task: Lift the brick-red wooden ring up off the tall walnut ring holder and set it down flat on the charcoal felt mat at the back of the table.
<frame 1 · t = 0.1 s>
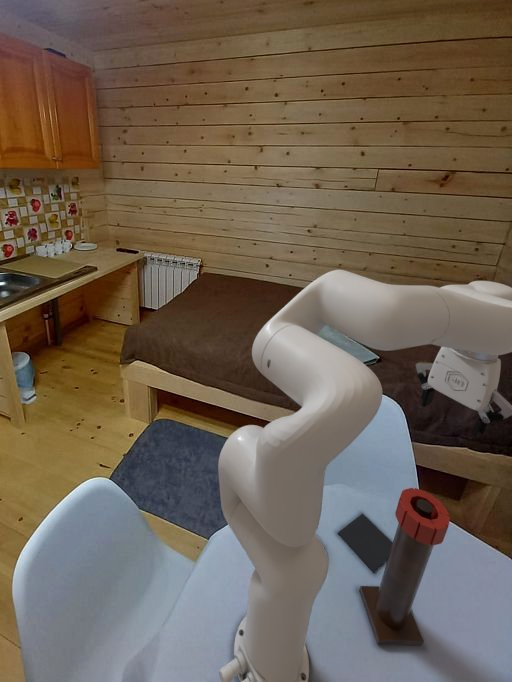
hand: (450, 418, 70), 31 cm above the table, tool pointing down, fingers open, 9 cm apart
vase: (293, 535, 78), on the table
ring: (419, 523, 56), point 25 cm above the table, touching ring holder
felt mat: (367, 541, 77), on the table
ring holder: (388, 616, 64), on the table
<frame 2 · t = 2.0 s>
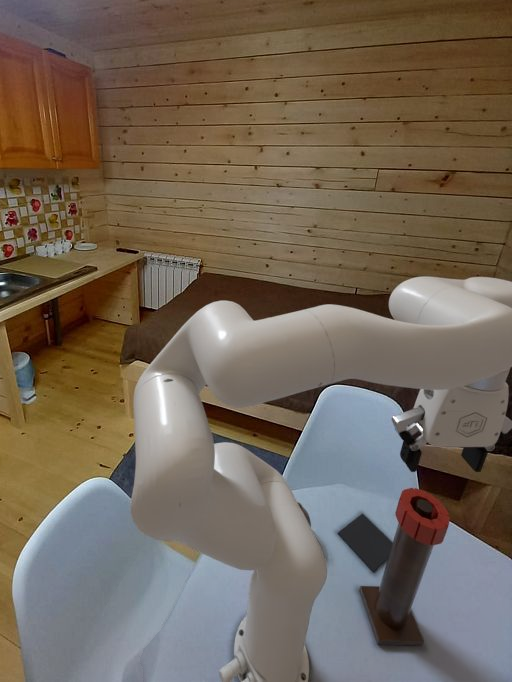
hand: (438, 464, 52), 38 cm above the table, tool pointing down, fingers open, 9 cm apart
nothing on the table moved.
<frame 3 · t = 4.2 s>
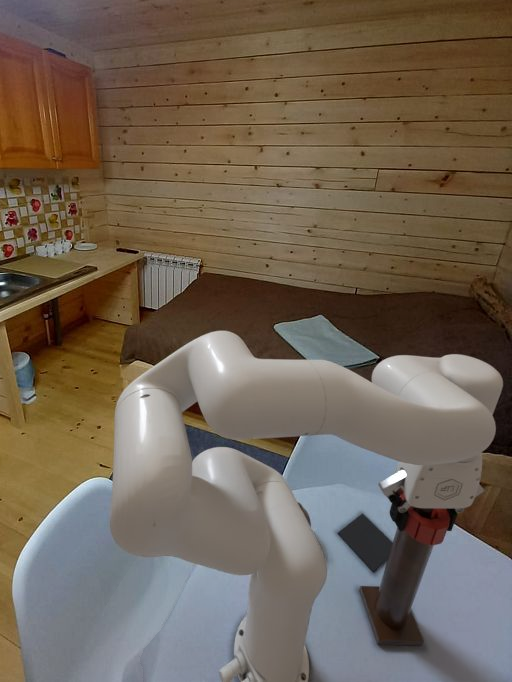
hand: (419, 521, 56), 25 cm above the table, tool pointing down, fingers closed on ring, 7 cm apart
ring: (419, 523, 56), point 25 cm above the table, touching gripper, ring holder
everything else where it was.
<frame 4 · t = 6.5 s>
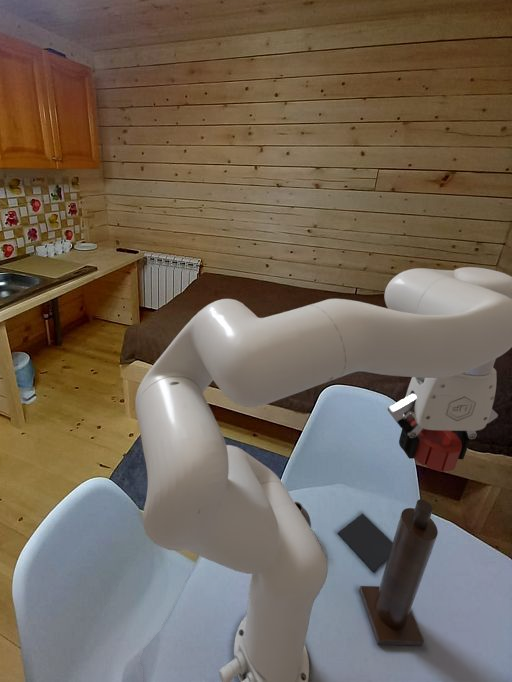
hand: (430, 451, 54), 38 cm above the table, tool pointing down, fingers closed on ring, 7 cm apart
ring: (429, 452, 54), point 37 cm above the table, touching gripper
everything else where it was.
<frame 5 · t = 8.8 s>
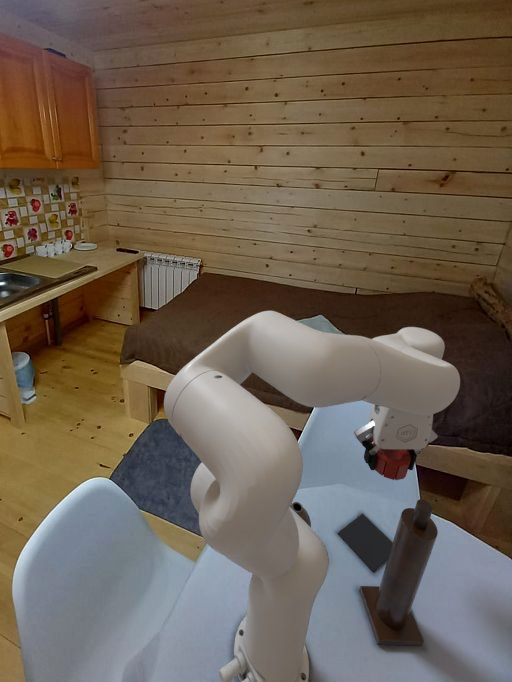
hand: (388, 463, 69), 23 cm above the table, tool pointing down, fingers closed on ring, 7 cm apart
ring: (387, 465, 70), point 22 cm above the table, touching gripper
everything else where it was.
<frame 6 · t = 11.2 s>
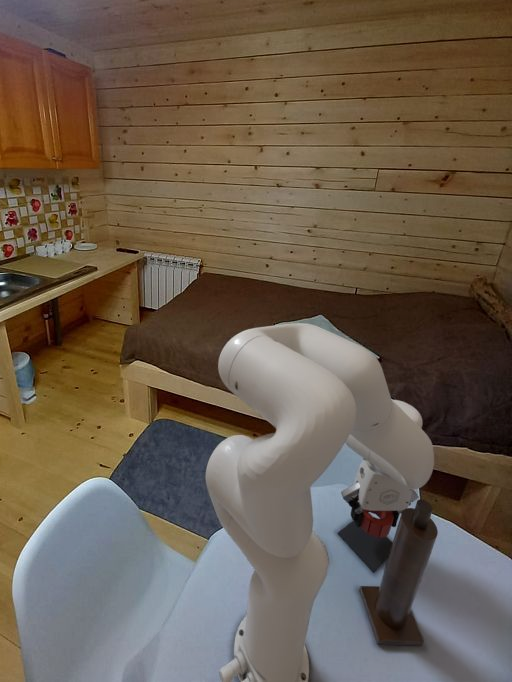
hand: (373, 520, 75), 7 cm above the table, tool pointing down, fingers closed on ring, 7 cm apart
ring: (372, 521, 75), point 6 cm above the table, touching gripper
everything else where it was.
when the fingers open (2 cm above the table, at t = 13.3 s): ring drops 1 cm, resting on felt mat.
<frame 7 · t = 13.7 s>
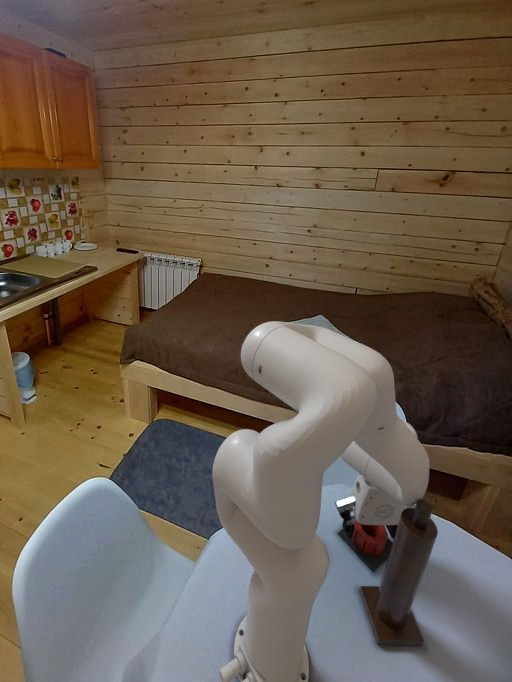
hand: (368, 532, 76), 3 cm above the table, tool pointing down, fingers open, 9 cm apart
ring: (367, 539, 77), resting on felt mat
everything else where it was.
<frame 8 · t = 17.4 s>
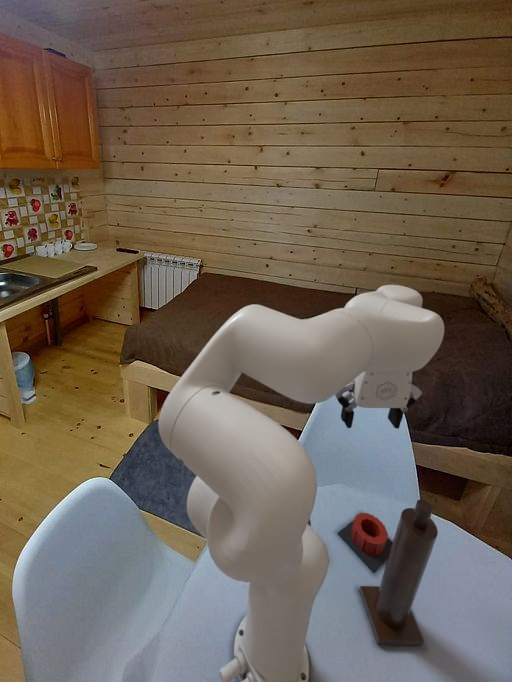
hand: (369, 423, 70), 30 cm above the table, tool pointing down, fingers open, 9 cm apart
nothing on the table moved.
at the end: ring inside the target area on the felt mat (0.2 cm from its centre), point 0.4 cm above the felt mat's base; ring tilted 0°; the gripper is holding nothing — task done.
